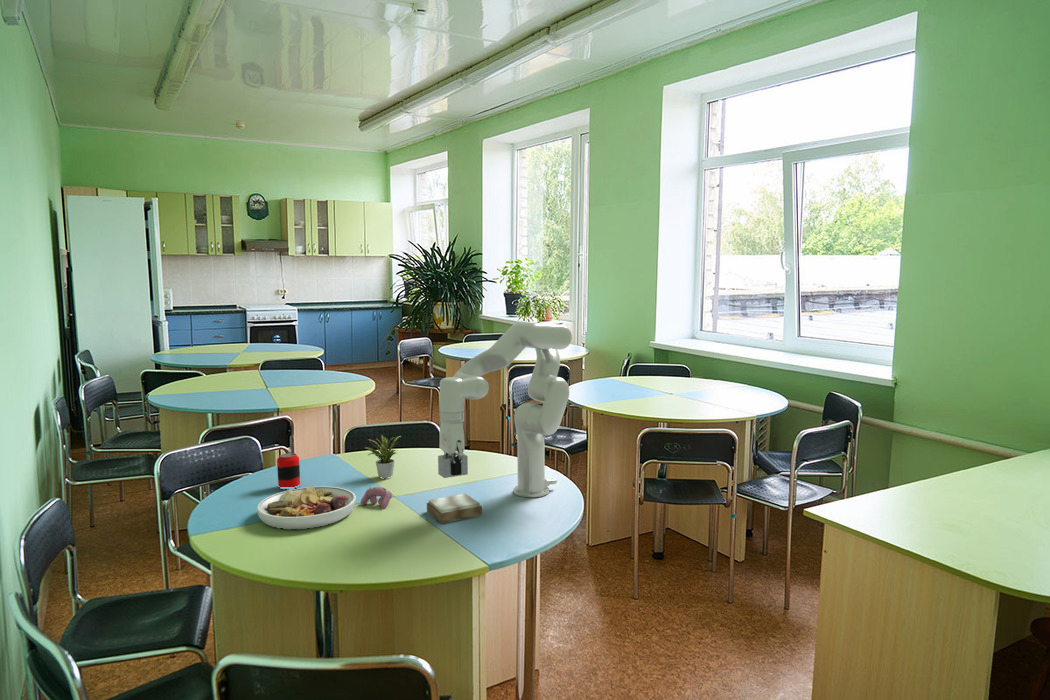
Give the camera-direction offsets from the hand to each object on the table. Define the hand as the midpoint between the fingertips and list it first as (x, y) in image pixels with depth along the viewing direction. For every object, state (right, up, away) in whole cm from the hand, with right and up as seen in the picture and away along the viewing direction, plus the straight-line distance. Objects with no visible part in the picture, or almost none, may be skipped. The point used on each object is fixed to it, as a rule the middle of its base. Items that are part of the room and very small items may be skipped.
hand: (452, 472), depth 212 cm
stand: (0, -14, +2) cm, 14 cm away
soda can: (-63, -11, +30) cm, 71 cm away
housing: (0, -1, 0) cm, 1 cm away
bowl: (-47, -15, +2) cm, 49 cm away
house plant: (-30, -10, +43) cm, 53 cm away
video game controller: (-27, -13, +10) cm, 32 cm away
